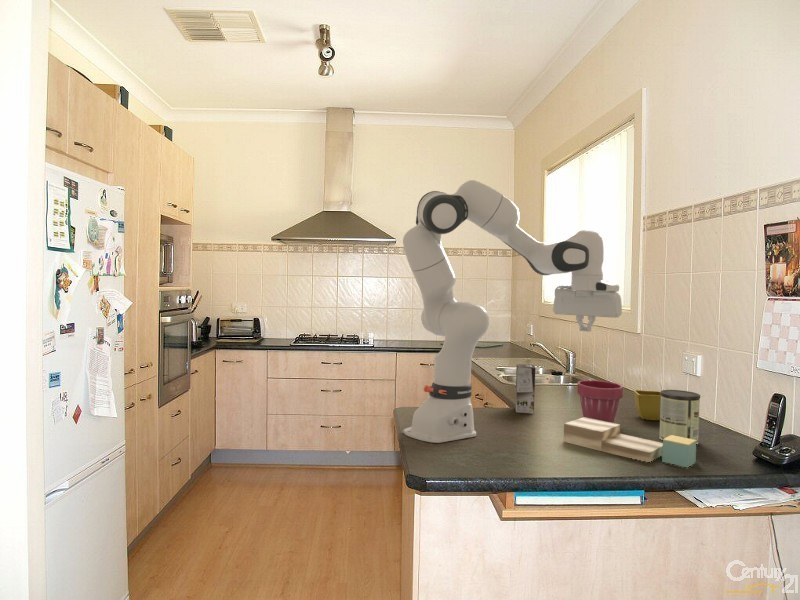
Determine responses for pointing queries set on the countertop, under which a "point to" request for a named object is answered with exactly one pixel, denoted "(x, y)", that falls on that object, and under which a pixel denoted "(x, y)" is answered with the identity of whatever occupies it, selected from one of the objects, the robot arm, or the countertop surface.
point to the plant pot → (599, 399)
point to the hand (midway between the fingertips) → (585, 331)
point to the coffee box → (525, 388)
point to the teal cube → (679, 451)
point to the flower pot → (648, 404)
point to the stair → (610, 439)
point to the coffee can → (679, 414)
